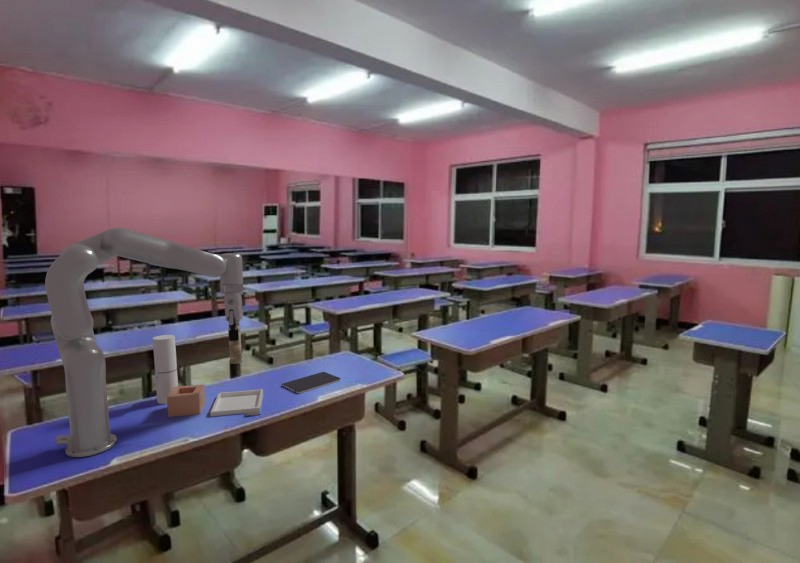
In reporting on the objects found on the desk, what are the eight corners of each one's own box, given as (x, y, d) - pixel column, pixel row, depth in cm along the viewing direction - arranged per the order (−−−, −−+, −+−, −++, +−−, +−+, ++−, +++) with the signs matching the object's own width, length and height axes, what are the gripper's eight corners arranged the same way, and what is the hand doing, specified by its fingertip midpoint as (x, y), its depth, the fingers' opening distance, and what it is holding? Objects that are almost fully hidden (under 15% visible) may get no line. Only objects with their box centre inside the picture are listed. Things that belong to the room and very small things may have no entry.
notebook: (323, 374, 196) (281, 387, 180) (323, 371, 195) (281, 383, 180) (341, 381, 187) (298, 395, 172) (341, 378, 187) (298, 391, 172)
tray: (210, 419, 149) (210, 412, 149) (219, 399, 167) (219, 392, 166) (259, 414, 153) (259, 407, 153) (263, 395, 170) (262, 389, 170)
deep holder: (168, 419, 149) (166, 397, 148) (175, 407, 159) (174, 386, 158) (199, 416, 151) (198, 394, 150) (205, 405, 161) (204, 384, 160)
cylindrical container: (169, 407, 159) (165, 340, 156) (152, 405, 161) (148, 339, 158) (183, 399, 166) (179, 335, 163) (166, 398, 168) (162, 334, 164)
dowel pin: (229, 364, 155) (227, 328, 154) (230, 360, 159) (228, 325, 158) (241, 363, 156) (239, 327, 155) (242, 360, 160) (240, 325, 158)
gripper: (240, 291, 147) (243, 344, 149) (245, 284, 163) (248, 332, 166) (216, 292, 145) (219, 345, 148) (224, 285, 161) (226, 333, 164)
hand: (234, 338), depth 157 cm, fingers closed on dowel pin, 4 cm apart
